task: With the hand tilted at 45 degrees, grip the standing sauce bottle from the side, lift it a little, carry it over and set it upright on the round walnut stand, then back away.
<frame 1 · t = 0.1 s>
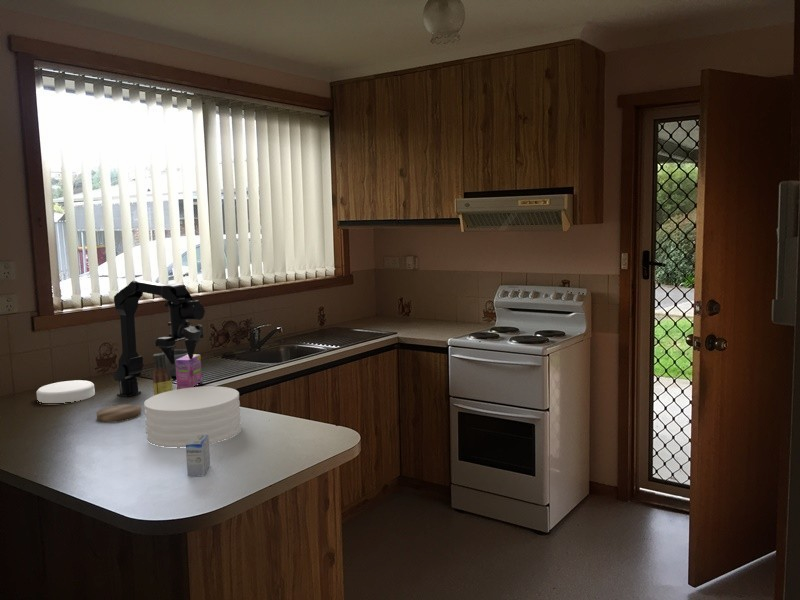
hand: (182, 361, 254), 15 cm above the counter, tool pointing down, fingers open, 9 cm apart
container: (66, 398, 267), on the counter
stand: (119, 415, 239), on the counter
medicine box: (199, 471, 184), on the counter
plate stack: (195, 434, 216), on the counter
box: (190, 386, 278), on the counter
sauce bottle: (165, 410, 244), on the counter
bowl: (177, 375, 298), on the counter
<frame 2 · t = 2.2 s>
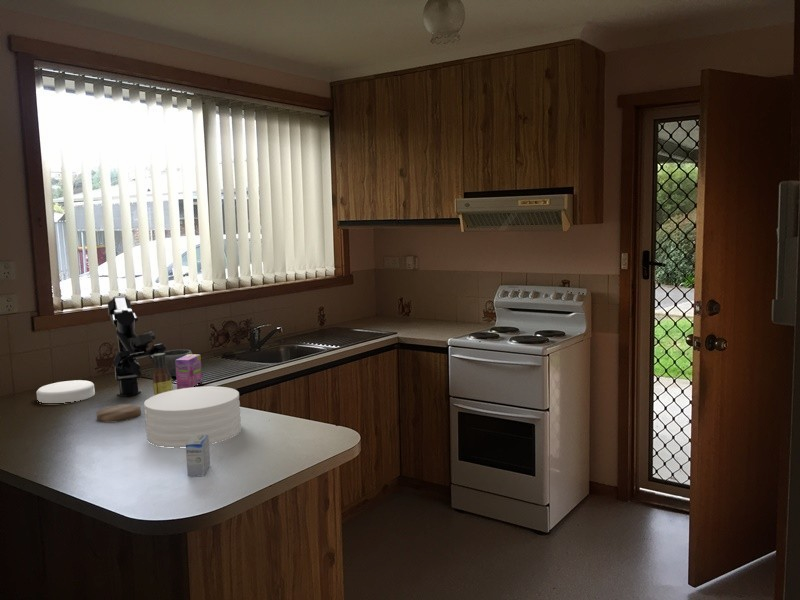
hand: (151, 373, 245), 13 cm above the counter, tool tilted 45°, fingers open, 9 cm apart
nothing on the counter moved.
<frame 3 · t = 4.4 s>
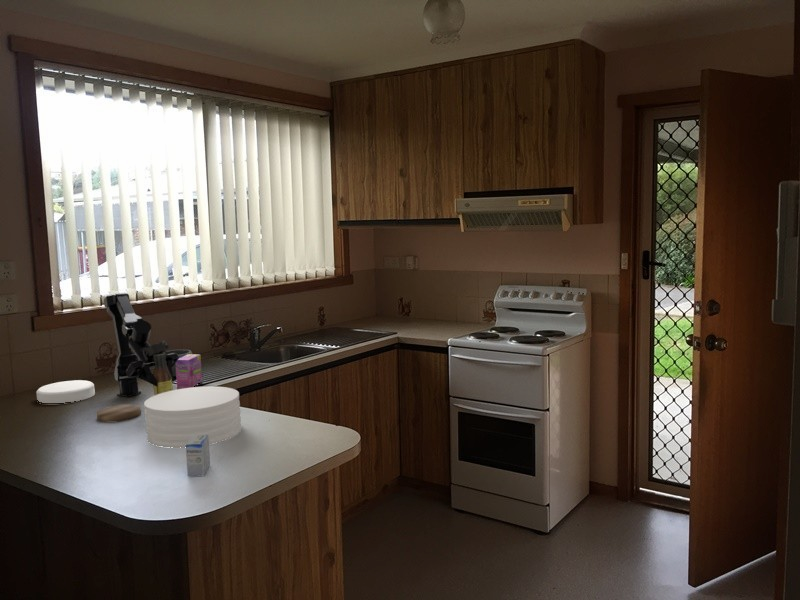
hand: (165, 383, 242), 10 cm above the counter, tool tilted 45°, fingers closed on sauce bottle, 6 cm apart
sauce bottle: (165, 410, 244), on the counter, touching gripper
everything else where it was.
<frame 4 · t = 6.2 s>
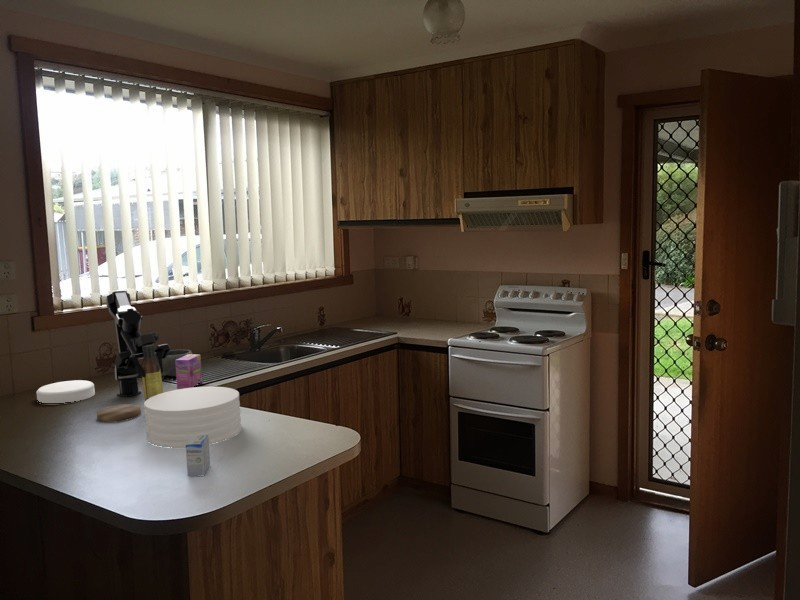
hand: (153, 374, 240), 13 cm above the counter, tool tilted 45°, fingers closed on sauce bottle, 6 cm apart
sauce bottle: (153, 401, 242), point 3 cm above the counter, touching gripper
everything else where it was.
when the fingers open (12 cm above the counter, at t = 8.4 s): sauce bottle stays where it is, resting on stand.
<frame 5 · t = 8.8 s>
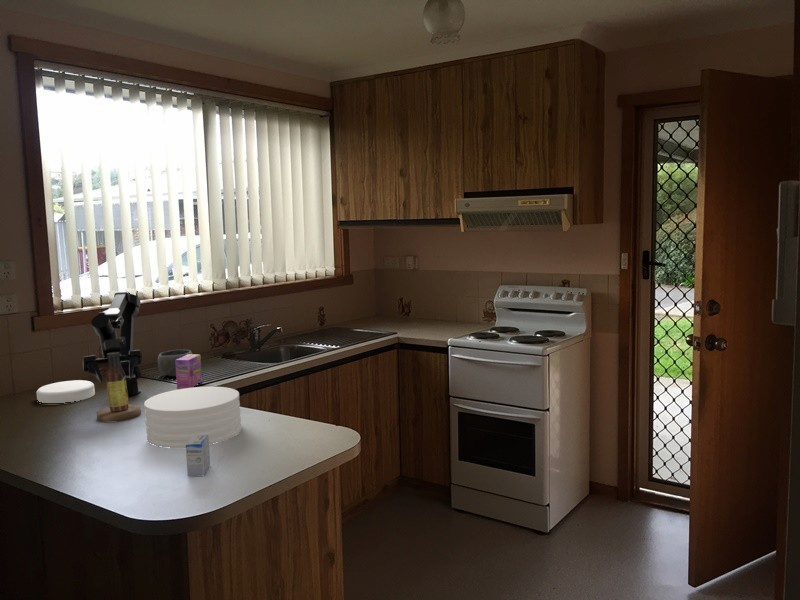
hand: (116, 380, 236), 13 cm above the counter, tool tilted 45°, fingers open, 9 cm apart
sauce bottle: (119, 410, 239), point 2 cm above the counter, touching stand
everything else where it was.
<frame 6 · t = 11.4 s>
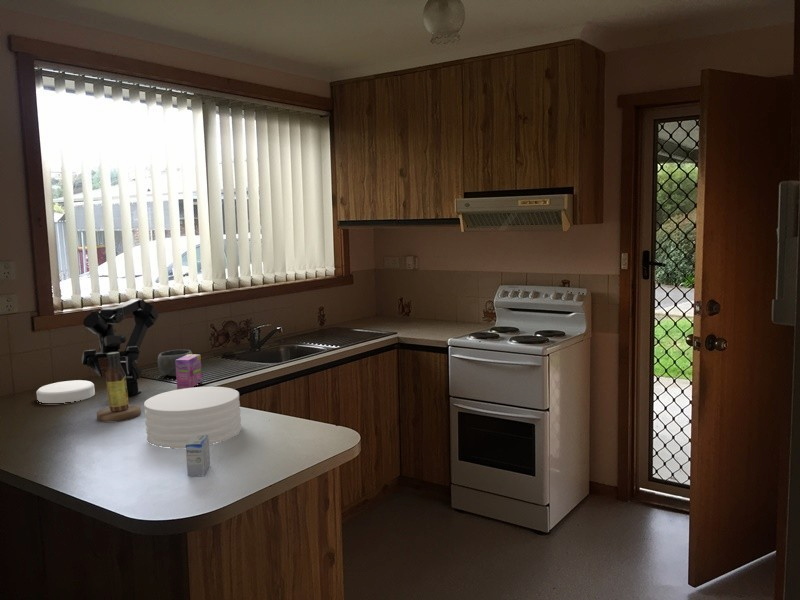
hand: (115, 375, 245), 12 cm above the counter, tool tilted 45°, fingers open, 9 cm apart
nothing on the counter moved.
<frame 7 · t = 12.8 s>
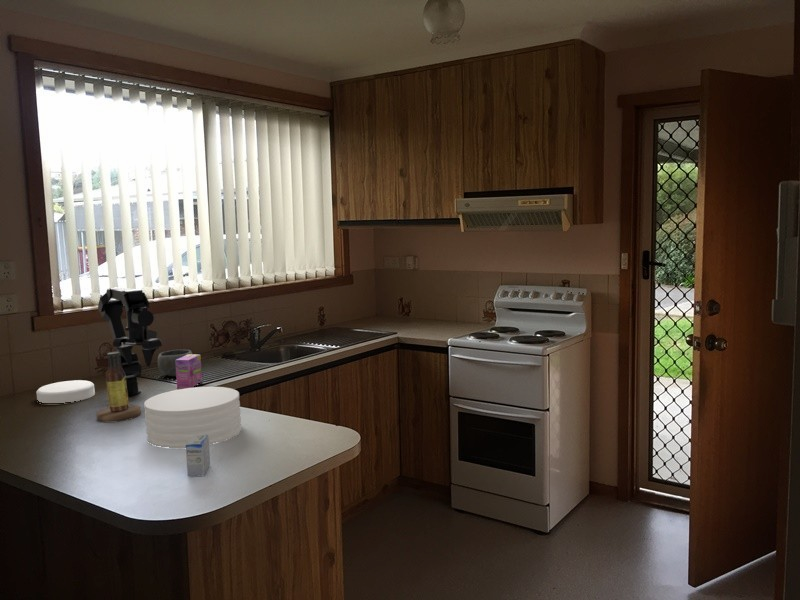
hand: (139, 365, 257), 13 cm above the counter, tool pointing down, fingers open, 9 cm apart
nothing on the counter moved.
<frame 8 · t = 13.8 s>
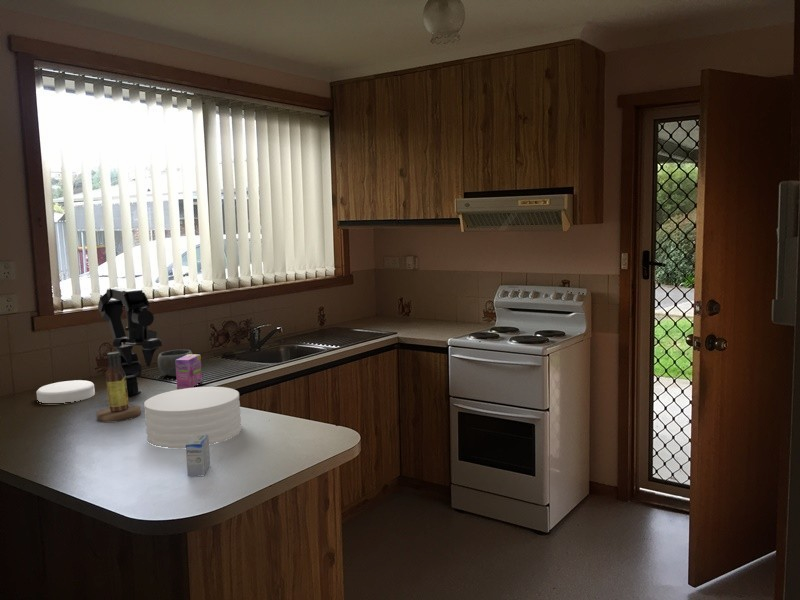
hand: (139, 365, 257), 13 cm above the counter, tool pointing down, fingers open, 9 cm apart
nothing on the counter moved.
at the end: sauce bottle inside the target area on the stand (0.2 cm from its centre), point 1.8 cm above the stand's base; sauce bottle tilted 0°; the gripper is holding nothing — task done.
